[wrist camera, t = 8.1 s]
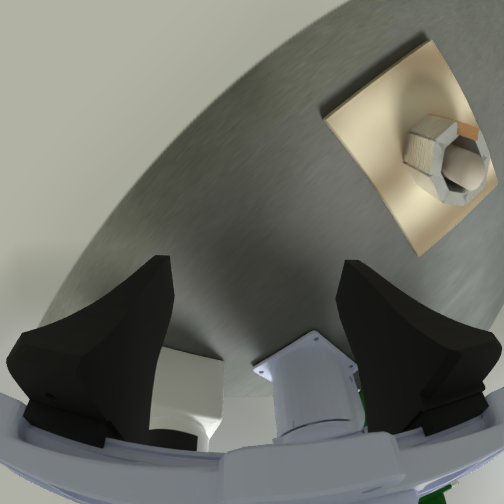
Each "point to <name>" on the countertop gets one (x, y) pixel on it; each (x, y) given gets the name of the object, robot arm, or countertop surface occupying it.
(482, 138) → the collar
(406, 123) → the duct board
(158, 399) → the medicine bottle
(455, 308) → the countertop surface
